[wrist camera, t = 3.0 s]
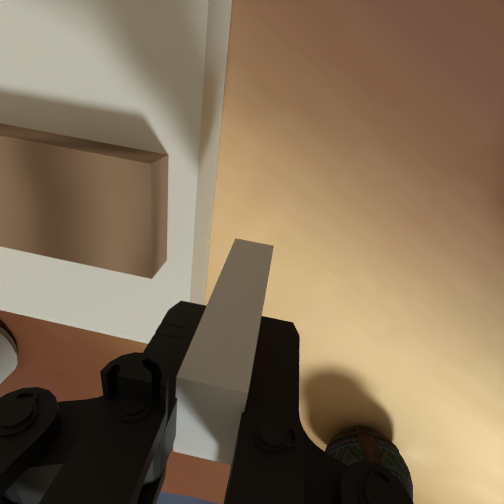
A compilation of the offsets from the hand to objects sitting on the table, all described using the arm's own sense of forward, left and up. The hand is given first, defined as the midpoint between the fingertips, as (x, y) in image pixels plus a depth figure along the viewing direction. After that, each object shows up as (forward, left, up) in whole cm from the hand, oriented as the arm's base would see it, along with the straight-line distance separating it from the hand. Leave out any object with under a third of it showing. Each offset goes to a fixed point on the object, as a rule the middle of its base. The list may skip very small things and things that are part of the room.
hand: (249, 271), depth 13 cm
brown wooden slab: (+10, 0, -4) cm, 11 cm away
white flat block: (+11, 0, -8) cm, 13 cm away
